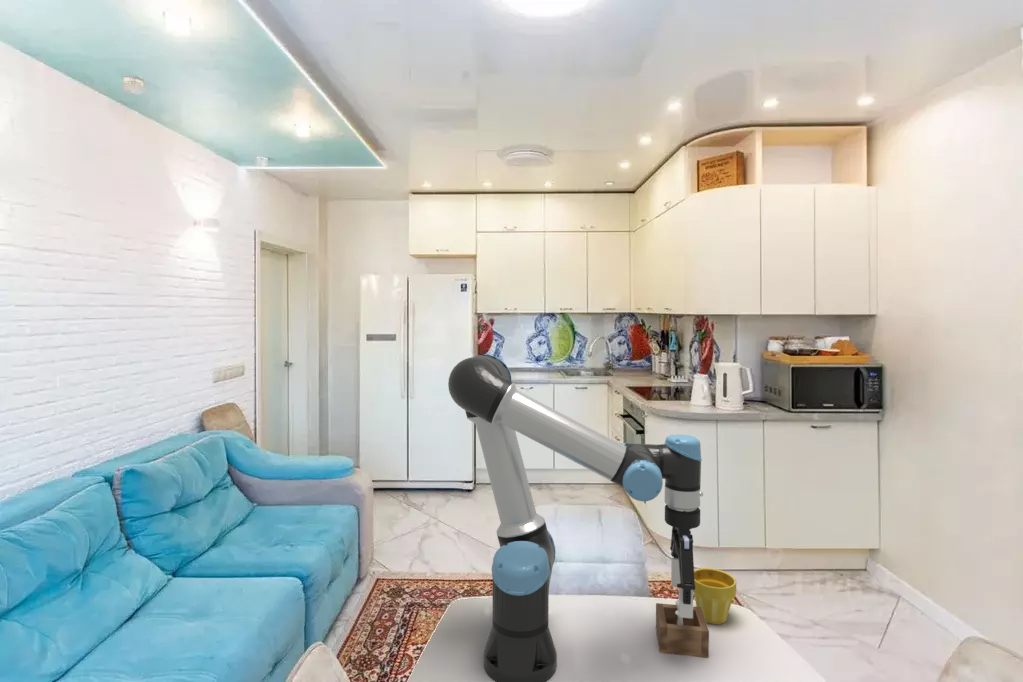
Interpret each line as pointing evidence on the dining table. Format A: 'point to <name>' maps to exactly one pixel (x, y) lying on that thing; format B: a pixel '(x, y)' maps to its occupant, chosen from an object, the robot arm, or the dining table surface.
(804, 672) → the dining table surface
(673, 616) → the walnut holder
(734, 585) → the plant pot
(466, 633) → the dining table surface
